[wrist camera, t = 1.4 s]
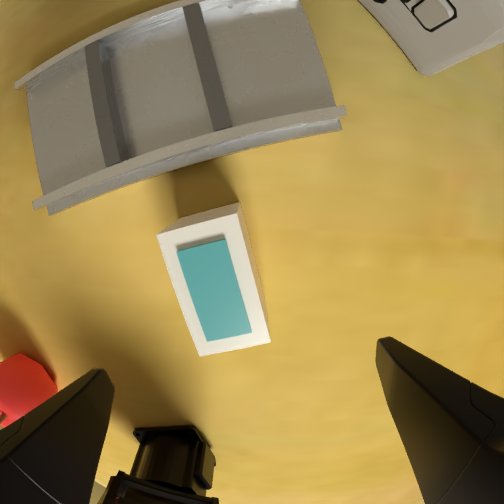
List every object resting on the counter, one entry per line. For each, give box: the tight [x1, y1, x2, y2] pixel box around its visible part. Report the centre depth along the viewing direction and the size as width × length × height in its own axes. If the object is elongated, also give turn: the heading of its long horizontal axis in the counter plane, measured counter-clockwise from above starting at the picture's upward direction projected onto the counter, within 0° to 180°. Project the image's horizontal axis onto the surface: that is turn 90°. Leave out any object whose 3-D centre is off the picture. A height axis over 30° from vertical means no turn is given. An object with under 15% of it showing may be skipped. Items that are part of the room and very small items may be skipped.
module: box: [157, 202, 271, 356], centre depth 17 cm, size 4×7×5 cm, turn 14°
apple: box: [0, 353, 57, 428], centre depth 19 cm, size 8×8×8 cm
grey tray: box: [15, 0, 347, 216], centre depth 15 cm, size 20×11×2 cm, turn 104°
